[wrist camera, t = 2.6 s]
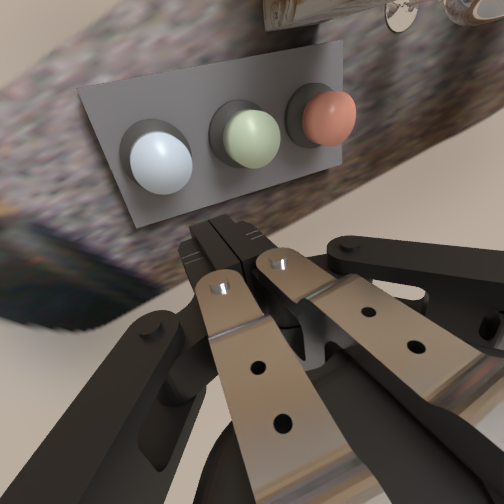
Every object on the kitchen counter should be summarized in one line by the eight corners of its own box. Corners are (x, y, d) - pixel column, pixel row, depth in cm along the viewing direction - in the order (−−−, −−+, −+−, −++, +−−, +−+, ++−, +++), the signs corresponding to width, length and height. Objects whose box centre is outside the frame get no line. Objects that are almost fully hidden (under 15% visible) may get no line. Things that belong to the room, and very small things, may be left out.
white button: (178, 124, 23) (183, 127, 22) (193, 179, 26) (198, 185, 24) (120, 138, 22) (120, 142, 21) (141, 194, 25) (143, 201, 23)
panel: (330, 42, 29) (348, 38, 27) (331, 160, 36) (346, 165, 33) (78, 88, 23) (75, 88, 21) (135, 221, 30) (136, 231, 27)
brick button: (342, 86, 27) (357, 86, 26) (342, 137, 30) (355, 140, 28) (300, 96, 26) (312, 96, 24) (303, 148, 29) (314, 151, 27)
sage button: (266, 104, 25) (277, 105, 24) (273, 157, 28) (282, 161, 26) (217, 115, 24) (225, 117, 22) (228, 169, 27) (236, 174, 25)
